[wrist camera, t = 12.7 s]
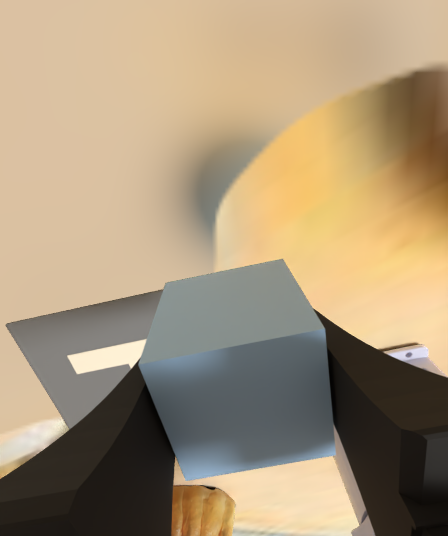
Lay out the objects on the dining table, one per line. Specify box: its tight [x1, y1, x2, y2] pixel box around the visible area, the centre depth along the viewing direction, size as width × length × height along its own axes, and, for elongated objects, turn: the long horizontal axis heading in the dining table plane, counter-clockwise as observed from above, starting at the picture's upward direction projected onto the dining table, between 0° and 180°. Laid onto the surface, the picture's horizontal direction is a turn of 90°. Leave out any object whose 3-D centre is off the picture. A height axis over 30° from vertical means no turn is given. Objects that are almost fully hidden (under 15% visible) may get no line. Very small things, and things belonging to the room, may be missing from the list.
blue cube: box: [138, 259, 336, 481], centre depth 11 cm, size 5×5×5 cm
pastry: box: [171, 485, 236, 536], centre depth 28 cm, size 9×7×4 cm
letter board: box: [6, 290, 163, 429], centre depth 23 cm, size 16×16×1 cm
